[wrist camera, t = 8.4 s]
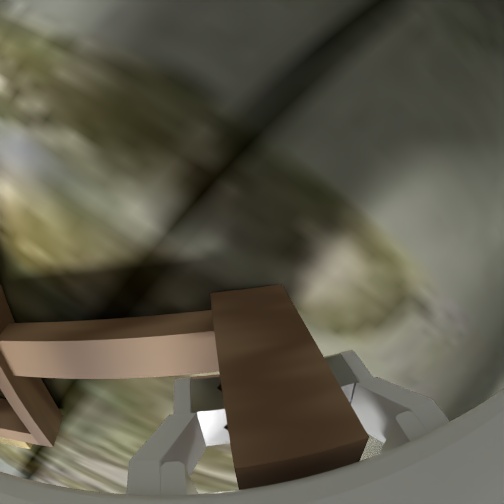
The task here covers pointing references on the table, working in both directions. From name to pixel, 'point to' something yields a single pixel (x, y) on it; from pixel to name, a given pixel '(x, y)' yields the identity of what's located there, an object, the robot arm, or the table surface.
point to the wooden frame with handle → (194, 362)
